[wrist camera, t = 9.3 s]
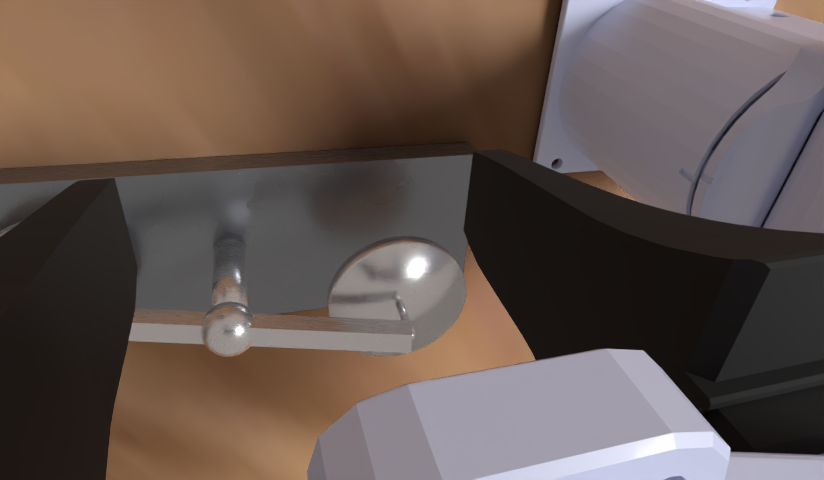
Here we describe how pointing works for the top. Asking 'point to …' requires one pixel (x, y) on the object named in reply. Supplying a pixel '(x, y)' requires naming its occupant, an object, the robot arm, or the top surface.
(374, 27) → the top surface
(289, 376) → the top surface
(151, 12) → the top surface
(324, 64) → the top surface
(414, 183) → the balance
